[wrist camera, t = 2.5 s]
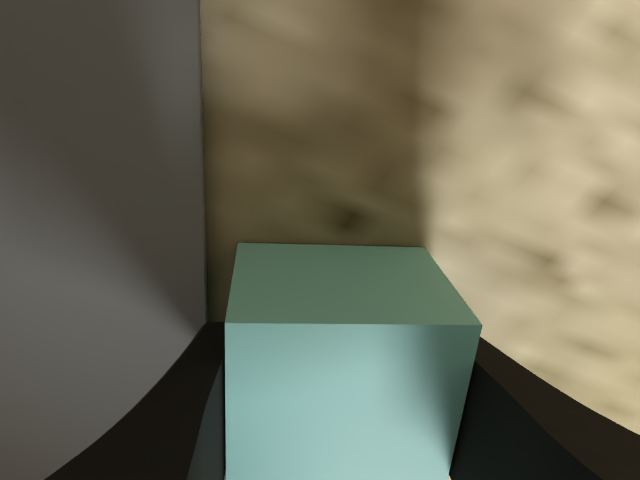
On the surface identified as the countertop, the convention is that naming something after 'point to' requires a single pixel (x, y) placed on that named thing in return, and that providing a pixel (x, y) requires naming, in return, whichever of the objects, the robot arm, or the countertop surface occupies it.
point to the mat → (95, 216)
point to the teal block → (344, 363)
